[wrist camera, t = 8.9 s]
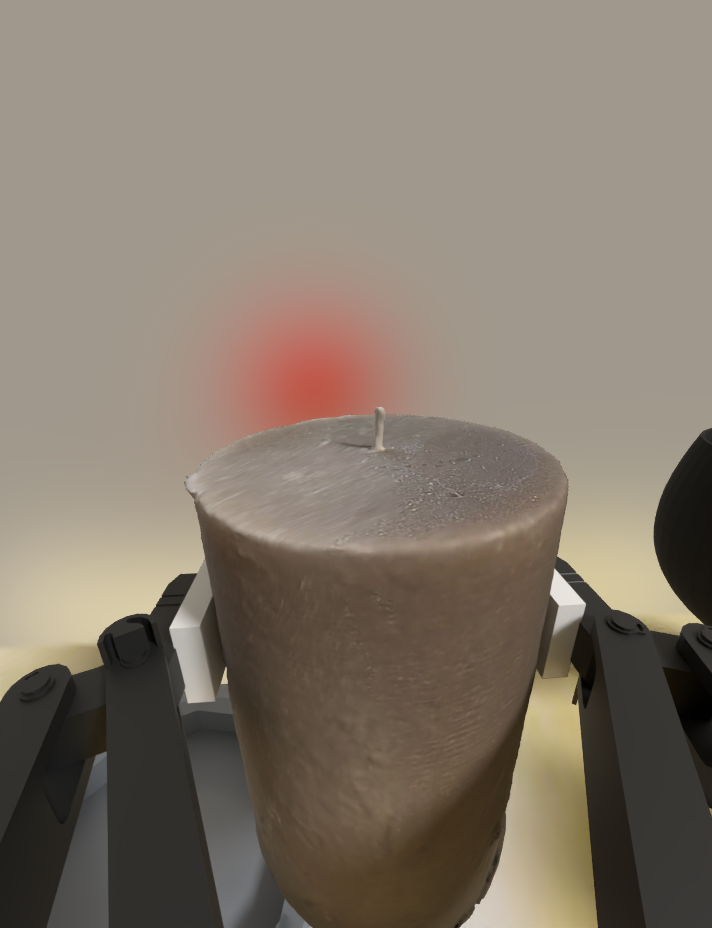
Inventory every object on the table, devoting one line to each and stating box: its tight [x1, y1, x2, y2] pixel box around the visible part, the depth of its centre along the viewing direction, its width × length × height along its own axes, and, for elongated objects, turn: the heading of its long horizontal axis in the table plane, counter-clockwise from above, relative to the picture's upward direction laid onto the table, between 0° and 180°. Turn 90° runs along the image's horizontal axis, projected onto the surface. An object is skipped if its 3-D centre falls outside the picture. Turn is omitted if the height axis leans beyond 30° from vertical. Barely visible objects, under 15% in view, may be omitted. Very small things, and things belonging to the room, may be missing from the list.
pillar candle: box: [184, 407, 568, 928], centre depth 13 cm, size 10×10×15 cm
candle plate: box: [47, 684, 313, 928], centre depth 19 cm, size 20×20×3 cm
